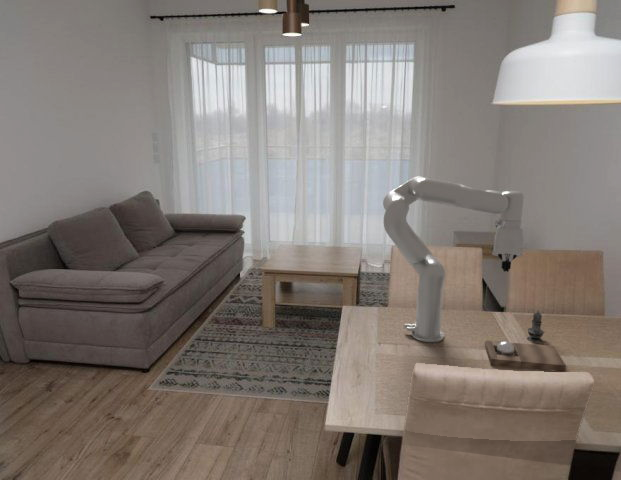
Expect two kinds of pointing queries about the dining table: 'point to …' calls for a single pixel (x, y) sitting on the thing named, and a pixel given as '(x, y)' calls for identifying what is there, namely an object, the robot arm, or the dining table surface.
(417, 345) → the dining table surface
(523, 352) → the board
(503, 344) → the ball
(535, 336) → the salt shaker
